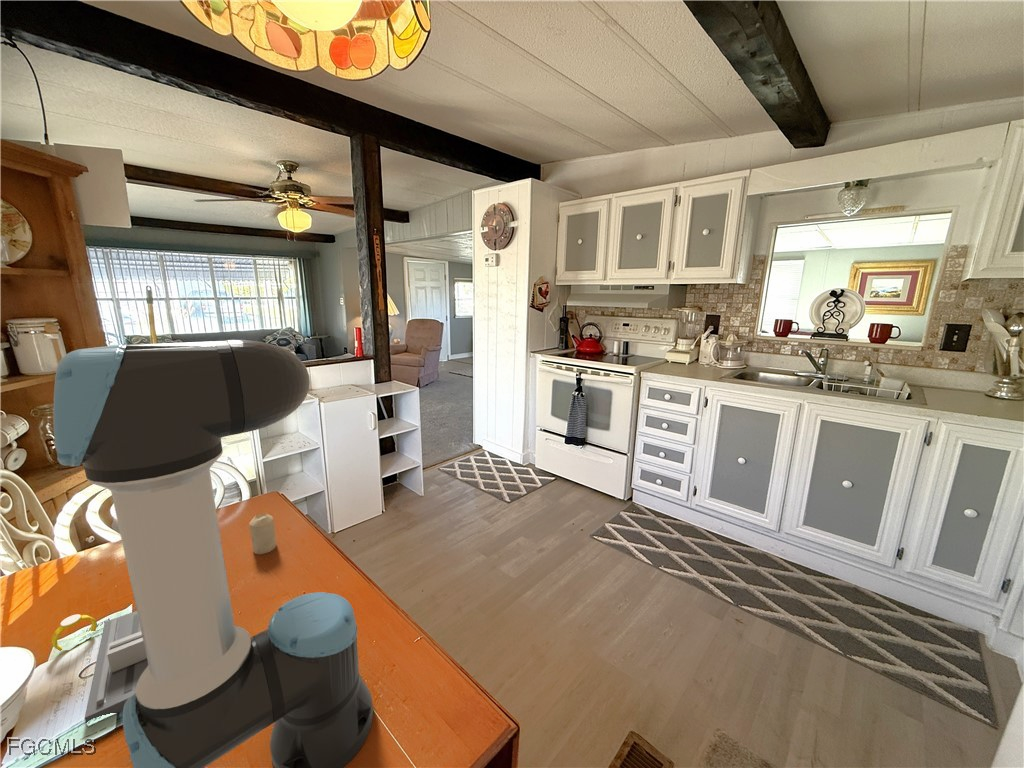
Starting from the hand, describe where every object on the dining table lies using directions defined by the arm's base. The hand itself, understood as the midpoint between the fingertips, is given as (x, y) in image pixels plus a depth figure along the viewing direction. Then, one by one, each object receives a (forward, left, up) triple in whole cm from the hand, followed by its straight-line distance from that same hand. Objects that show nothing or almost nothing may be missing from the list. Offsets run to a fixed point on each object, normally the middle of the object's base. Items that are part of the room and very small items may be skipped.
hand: (173, 523), depth 86 cm
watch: (-2, +17, -20) cm, 26 cm away
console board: (-13, +4, -19) cm, 24 cm away
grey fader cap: (-16, +8, -17) cm, 25 cm away
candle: (+10, -17, -20) cm, 28 cm away
